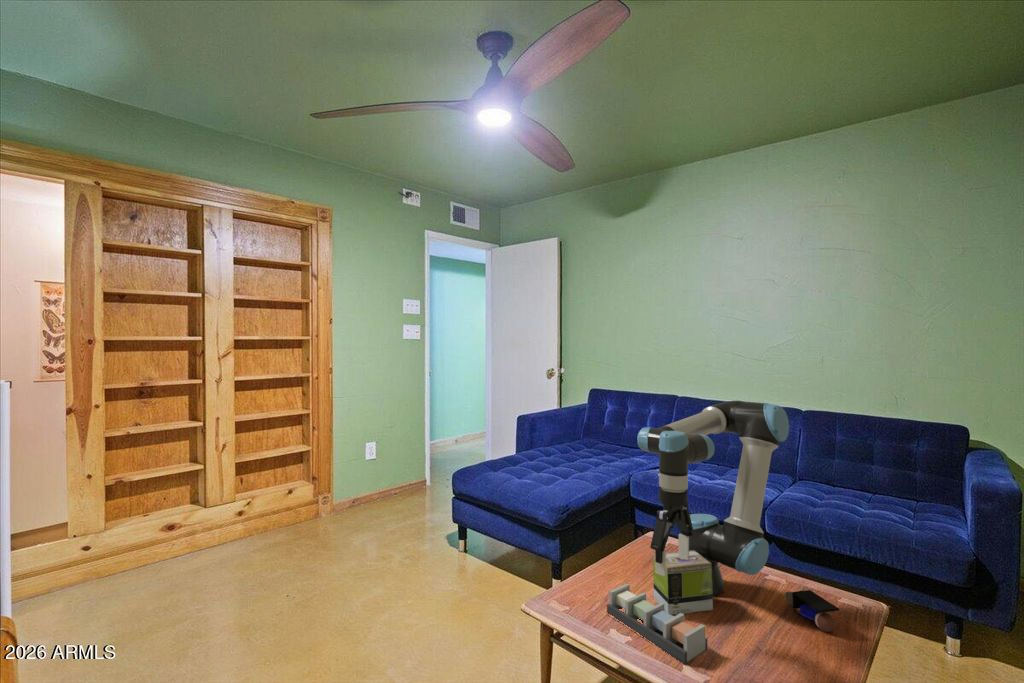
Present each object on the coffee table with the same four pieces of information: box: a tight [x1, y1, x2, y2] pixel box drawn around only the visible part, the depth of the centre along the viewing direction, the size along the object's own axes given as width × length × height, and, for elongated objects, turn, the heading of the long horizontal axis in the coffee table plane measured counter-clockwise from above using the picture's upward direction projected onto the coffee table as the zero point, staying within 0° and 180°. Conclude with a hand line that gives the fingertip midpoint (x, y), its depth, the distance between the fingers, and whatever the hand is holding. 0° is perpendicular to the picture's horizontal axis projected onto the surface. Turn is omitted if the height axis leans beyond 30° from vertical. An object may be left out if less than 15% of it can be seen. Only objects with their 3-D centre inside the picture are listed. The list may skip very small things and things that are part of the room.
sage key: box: [633, 600, 655, 620], centre depth 137 cm, size 5×5×3 cm
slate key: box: [652, 610, 674, 632], centre depth 132 cm, size 5×5×3 cm
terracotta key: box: [672, 621, 695, 644], centre depth 126 cm, size 5×5×3 cm
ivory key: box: [616, 590, 637, 609], centre depth 143 cm, size 5×5×3 cm
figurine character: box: [784, 589, 840, 633], centre depth 140 cm, size 7×8×15 cm
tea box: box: [652, 550, 714, 616], centre depth 148 cm, size 15×10×15 cm
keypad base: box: [606, 583, 708, 665], centre depth 135 cm, size 10×27×7 cm, turn 35°
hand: (672, 566), depth 129 cm, fingers open, 13 cm apart
